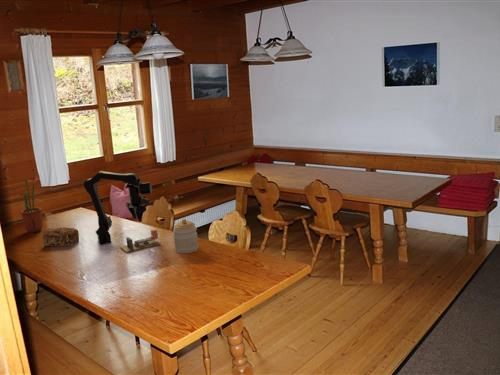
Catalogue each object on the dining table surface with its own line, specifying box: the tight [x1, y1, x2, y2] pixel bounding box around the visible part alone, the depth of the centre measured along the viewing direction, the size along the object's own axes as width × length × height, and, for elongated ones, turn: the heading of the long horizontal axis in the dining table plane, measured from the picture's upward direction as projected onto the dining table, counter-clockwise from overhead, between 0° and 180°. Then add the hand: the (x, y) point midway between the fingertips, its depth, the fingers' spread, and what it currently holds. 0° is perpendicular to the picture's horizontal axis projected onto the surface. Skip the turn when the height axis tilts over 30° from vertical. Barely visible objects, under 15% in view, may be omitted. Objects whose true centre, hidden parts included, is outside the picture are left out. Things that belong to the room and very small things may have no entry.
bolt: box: [133, 228, 159, 244], centre depth 278 cm, size 13×3×6 cm, turn 122°
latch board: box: [120, 236, 162, 254], centre depth 276 cm, size 20×11×6 cm, turn 122°
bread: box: [41, 226, 80, 247], centre depth 293 cm, size 19×11×10 cm, turn 85°
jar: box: [172, 218, 199, 254], centre depth 265 cm, size 13×13×18 cm
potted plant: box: [19, 179, 44, 234], centre depth 320 cm, size 17×16×35 cm
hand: (137, 220), depth 286 cm, fingers open, 9 cm apart
